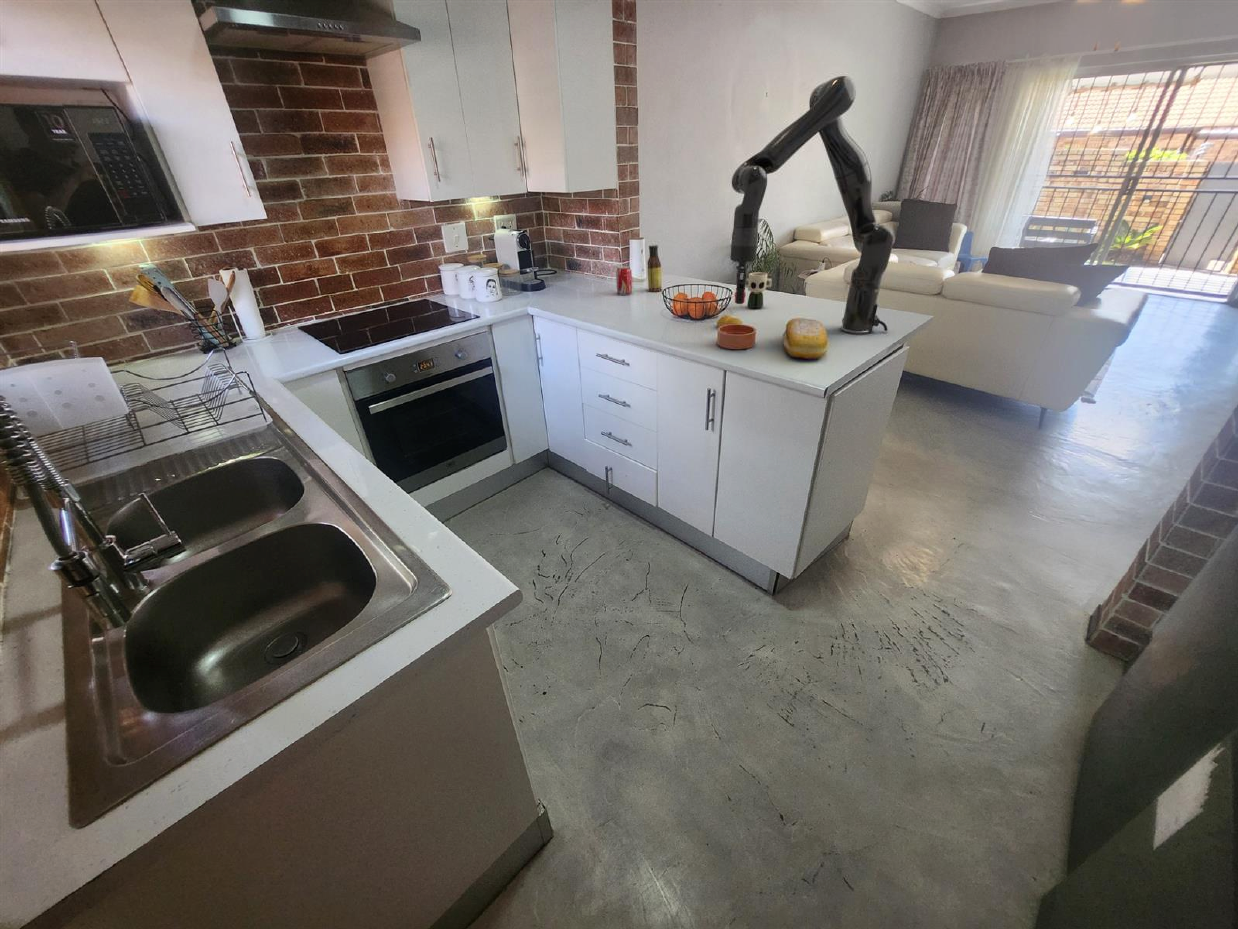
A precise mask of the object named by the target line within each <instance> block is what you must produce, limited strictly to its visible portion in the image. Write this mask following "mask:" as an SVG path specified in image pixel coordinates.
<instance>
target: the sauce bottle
mask: <svg viewBox="0 0 1238 929" xmlns="http://www.w3.org/2000/svg"><path fill="white" fill-rule="evenodd" d="M658 249H659V245H658V244H650V245H648V250H649V258H648V259H647V284H648V285H647V286H648V291H649V292H653V293H657V292H660V291H662V286H663V284H662V283H663V282H662V264H661V261H660V258H659V253H658V252H659V251H658Z"/></svg>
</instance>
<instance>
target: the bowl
mask: <svg viewBox="0 0 1238 929" xmlns="http://www.w3.org/2000/svg"><path fill="white" fill-rule="evenodd" d="M716 334H717V335H716V336H717V337H716V344H717V345H718V346H719V347H721V348H723V349H724V348H725V349H727V350H745V349H749V348H752V347H754V346H755V344H756V335H757V328H756V327H754V326H752V325H748V324H743V323H742V324H730V325H724V326H721V327H718V328H717V333H716Z"/></svg>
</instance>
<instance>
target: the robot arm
mask: <svg viewBox="0 0 1238 929" xmlns="http://www.w3.org/2000/svg"><path fill="white" fill-rule="evenodd" d="M856 94H857V88H856V84H855V82H854V80H853V79H852V78H851V77H850V76H847V75H840V76H835V77H833V78H831V79H829V80H827V81H824V82H823V83H821V84H819V85H817V86H816V87H815V88H814V89H813V90H812V91H811V94H810V96H809V101H808V103H809V104H808V105H809V106H808V107H809V109H808V110H807V111H806V112H805V113H804V114H802V115H801V116H800V117H799V118H797V119H796V120H794V121H793V122H792V123H790V124H789V125H788V126H786V127H785V128H783V130H781V131H780V132H779V133H778V134H776V135H775V136H774V137H773V138H772V139H771V140H770V142H768V143H767V144H766V145H765V146H764V147H763V148H762V149H761V150H760V151H758V152H757V153H755V154H754V155H752V156H751V157H750V158H748V159H747V160H745V161H744V162H743V163H741V164H740V165H739V166H738V167H737V168H736V170H735V171H734V173H733V174H732V177H731V187H732V189H733V191H734V192H736V193H737V194H741V195H743V198H742V201H741V203H739V204H737V205H736V206H735V208H734V214H733V226H732V227H733V228H732V234H731V244H730V260H731V261H732V262H737V263H738V265H735V272H734V273H735V284H736V288H735V292H737V295H736V303H735V304H736V305H743V304H744V303H743V299H744V291H745V292H746V287H745V284H746V285H747V284H748V281H747V279H748V276H749V274H750V273H749V272H750V265H747V263H748V262H753V261H756V258H757V251H758V249H757V248H758V238H759V220H760V209H761V206H762V204H763V200H764V198H765V194H766V191H767V186H768V175H770V174H773V173H776V172H777V171H779V169H781V168H782V167H783V166H784V165H785V164H786V163H787V162H788V161H789V160H790V159H791V158H792V157H793V156H794V155H795V154H796V153H797V152H799V150H800V149H802V148H803V146H804V145H806V144H807V143H808V142H809V141H810V140H811V139H812V138H813V137H814V136H816V135H817V134H819V136H820V138H821V141H822V144H823V146H824V148H825V151H826V154H827V157H828V160H829V163H830V166H831V170H832V172H833V173H832V174H833V176H834V179H835V180H834V181H835V183H836V187H837V189H838V191H839V194H840V198H841V201H842V204H843V206H844V209H845V210H846V214H847V216H848V221H849V224H850V225H849V226H850V229H851V235H852V240H853V245H854V248H855V249H856V251H857V252H858V253H860V258H859V262H858V264H857V266H856V267H854V268H853V269H852V272H851V277H850V282H849V286H848V292H847V298H846V304H845V309H844V314H843V317H842V320H841V322H842V324H841V328H840V329H841V331H843V332H845V333H848V334H857V335H861V334H862V335H863V334H871V333H873V329H874V327H879V325H881V326H882V327H883V330H884V332H888V326H887V324H886V323H885V321H883V320H880V317H879V316H878V315H876V314H877V311H878V306H879V304H878V297H879V293H880V288H881V283H882V280H883V276H884V273H885V272H886V271H887V268H888V266H889V262H890V257H891V254H892V250H893V246H894V241H895V240H894V239H895V238H894V237H895V236H894V232H893V230H892V229H891V228H890V227H889V226H886V225H883V224H880V223H879V221H878V219H877V216H876V213H875V211H874V207H873V202H872V195H873V194H872V193H873V176H872V171H871V168H870V165H869V162H868V158H867V156H866V153H865V152H864V151H863V149H862V148H861V147H860V146H859V145H858V143H857V142H856V141H855V140H854V139H853V138H852V136H850V134H849V133H848V131H847V129H846V128H845V125H844V121H843V119H842V116H843V115H844V114H845V113H847V112H848V111H849V110H850V109H851V107H852V106H853V104H854V102H855V100H856Z"/></svg>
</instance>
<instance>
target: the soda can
mask: <svg viewBox="0 0 1238 929" xmlns="http://www.w3.org/2000/svg"><path fill="white" fill-rule="evenodd" d="M615 272H616V273H615V275H616V276H615V278H616V292H617V294H618V295H619V296H628V295H631V294H632V293H633V274H632V269H631V266H630V265H617V269H616V271H615Z"/></svg>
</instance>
